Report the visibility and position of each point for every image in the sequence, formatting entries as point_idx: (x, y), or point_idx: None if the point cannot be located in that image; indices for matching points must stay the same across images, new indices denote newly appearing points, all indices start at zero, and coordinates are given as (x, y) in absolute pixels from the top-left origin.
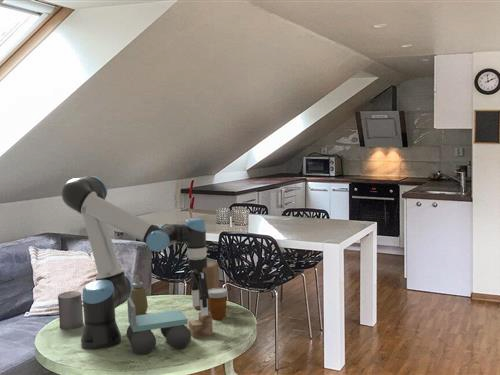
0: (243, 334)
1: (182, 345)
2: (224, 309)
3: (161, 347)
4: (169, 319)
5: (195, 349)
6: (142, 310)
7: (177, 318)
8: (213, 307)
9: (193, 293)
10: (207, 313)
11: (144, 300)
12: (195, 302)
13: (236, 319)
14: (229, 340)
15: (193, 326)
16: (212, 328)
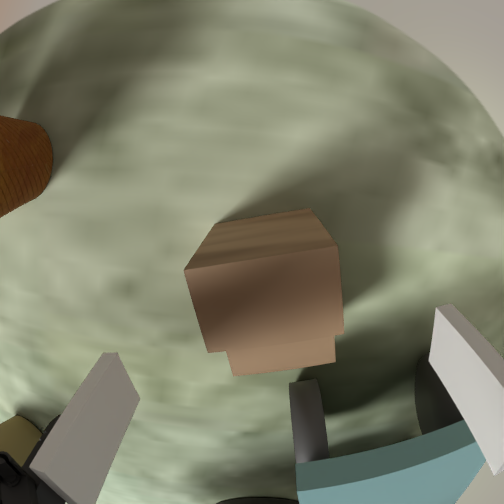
0: (353, 31)
1: None
2: (10, 122)
3: (380, 422)
4: (448, 487)
5: (467, 309)
6: (33, 441)
7: (462, 467)
8: (4, 197)
9: (92, 486)
10: (457, 316)
11: (11, 454)
12: (118, 405)
13: (70, 57)
14: (429, 130)
15: (334, 352)
16: (315, 216)
